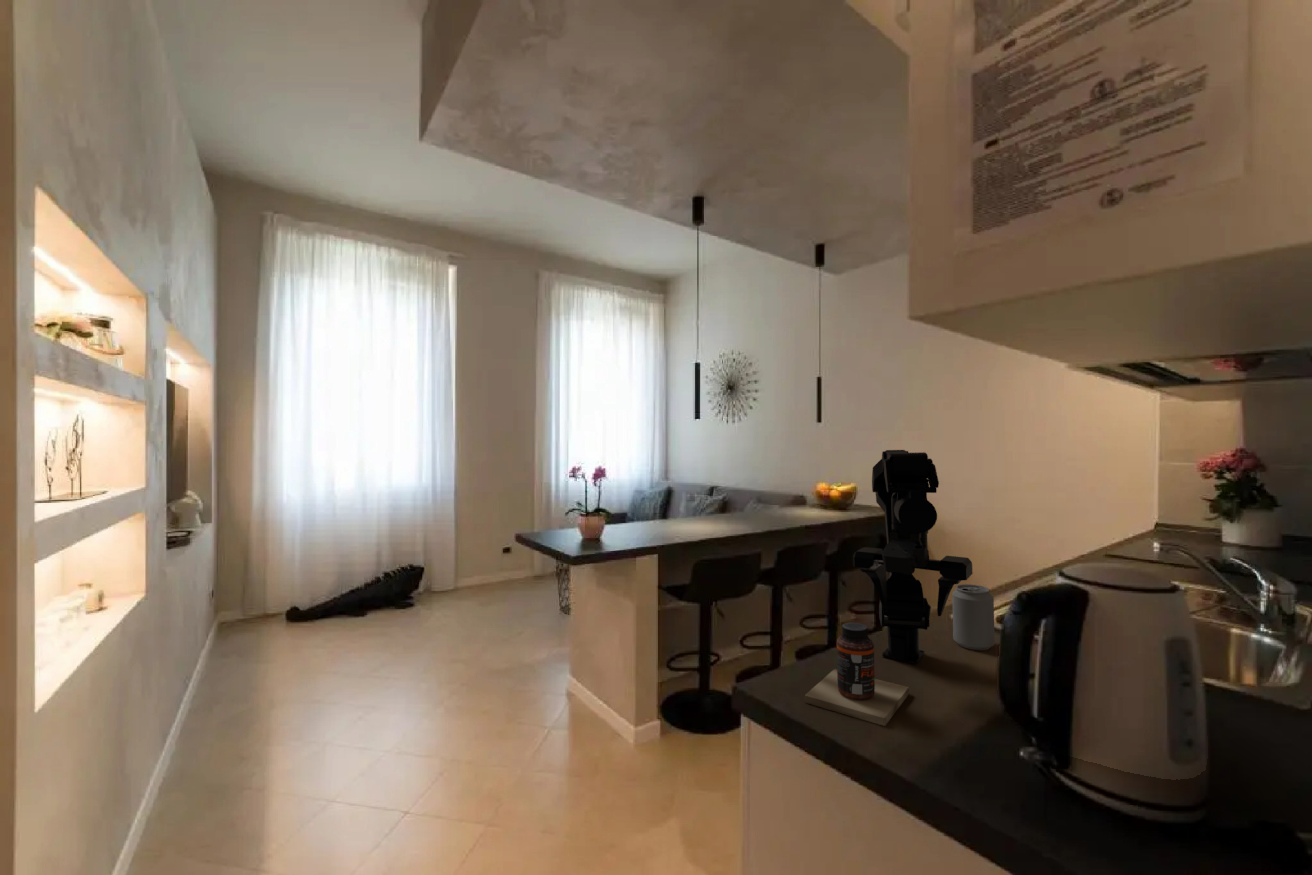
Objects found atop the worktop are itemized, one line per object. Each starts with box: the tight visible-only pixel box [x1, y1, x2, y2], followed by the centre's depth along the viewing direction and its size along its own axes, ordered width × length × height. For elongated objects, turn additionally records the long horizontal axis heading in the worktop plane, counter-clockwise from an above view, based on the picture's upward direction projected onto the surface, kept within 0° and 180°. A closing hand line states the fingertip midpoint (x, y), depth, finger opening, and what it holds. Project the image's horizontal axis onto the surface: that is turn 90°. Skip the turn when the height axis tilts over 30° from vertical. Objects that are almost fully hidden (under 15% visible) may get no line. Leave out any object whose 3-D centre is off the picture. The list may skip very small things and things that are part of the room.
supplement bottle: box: [836, 622, 875, 700], centre depth 95 cm, size 6×6×11 cm
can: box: [951, 583, 996, 651], centre depth 117 cm, size 8×8×12 cm
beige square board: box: [804, 668, 910, 727], centre depth 96 cm, size 13×13×1 cm
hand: (911, 610), depth 100 cm, fingers open, 9 cm apart
